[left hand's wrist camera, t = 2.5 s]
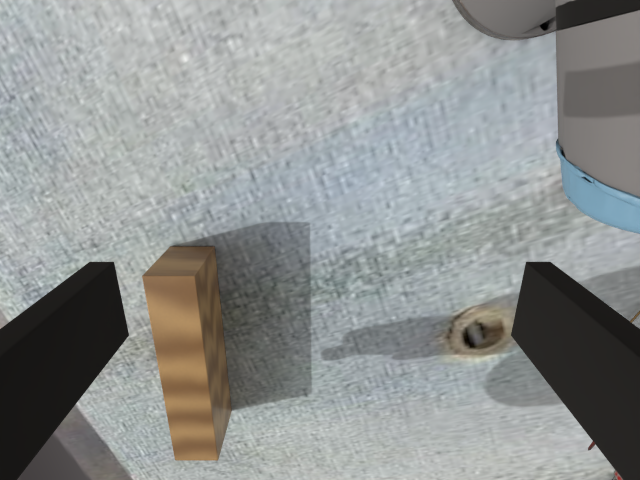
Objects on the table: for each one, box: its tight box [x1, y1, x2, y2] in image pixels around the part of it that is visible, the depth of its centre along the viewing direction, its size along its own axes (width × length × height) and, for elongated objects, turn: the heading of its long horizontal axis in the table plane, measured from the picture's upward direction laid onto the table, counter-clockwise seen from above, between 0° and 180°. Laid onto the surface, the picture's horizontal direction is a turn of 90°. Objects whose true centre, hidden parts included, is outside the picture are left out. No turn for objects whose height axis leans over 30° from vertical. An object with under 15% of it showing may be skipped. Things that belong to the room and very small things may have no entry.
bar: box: [142, 247, 232, 460], centre depth 47 cm, size 25×5×8 cm, turn 0°
